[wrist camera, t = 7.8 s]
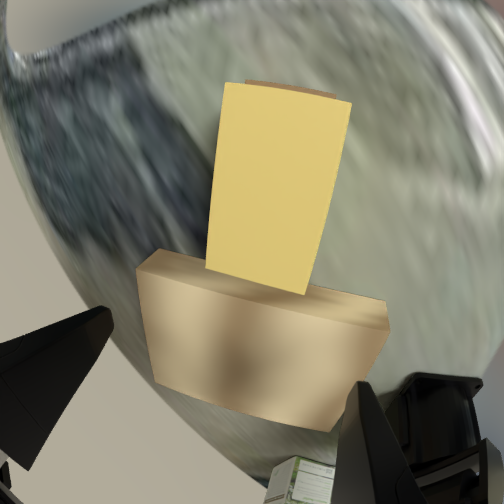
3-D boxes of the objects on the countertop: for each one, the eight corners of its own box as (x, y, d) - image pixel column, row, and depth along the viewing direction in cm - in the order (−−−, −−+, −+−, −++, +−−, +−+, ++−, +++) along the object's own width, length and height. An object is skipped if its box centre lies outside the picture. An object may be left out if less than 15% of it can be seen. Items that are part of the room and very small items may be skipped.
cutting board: (385, 301, 14) (390, 332, 12) (332, 404, 19) (329, 432, 17) (159, 248, 17) (135, 268, 15) (169, 360, 21) (155, 382, 19)
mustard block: (313, 249, 14) (346, 103, 11) (304, 295, 11) (352, 97, 7) (236, 230, 15) (256, 86, 12) (205, 267, 12) (226, 76, 8)
